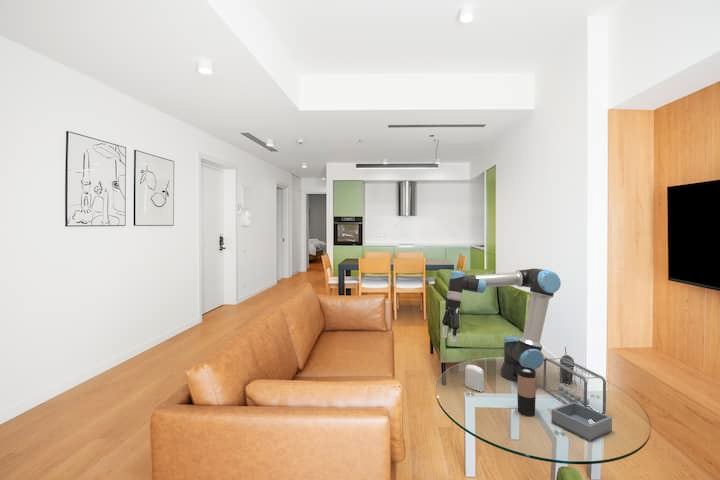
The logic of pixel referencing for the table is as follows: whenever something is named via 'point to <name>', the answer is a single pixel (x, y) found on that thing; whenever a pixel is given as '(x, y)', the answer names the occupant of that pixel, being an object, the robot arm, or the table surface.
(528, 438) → the table surface
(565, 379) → the beverage cup
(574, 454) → the table surface
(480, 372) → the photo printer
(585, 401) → the newton's cradle
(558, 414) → the crate
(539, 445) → the table surface
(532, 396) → the travel mug
